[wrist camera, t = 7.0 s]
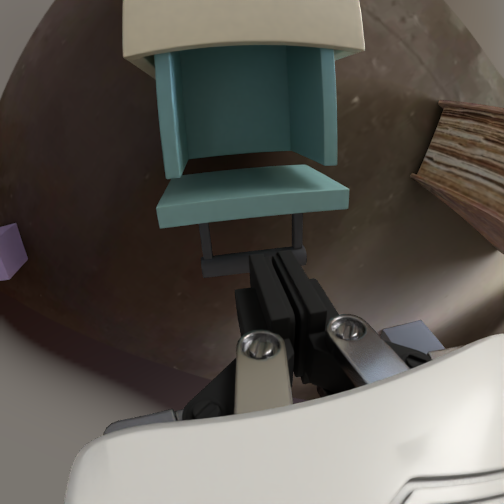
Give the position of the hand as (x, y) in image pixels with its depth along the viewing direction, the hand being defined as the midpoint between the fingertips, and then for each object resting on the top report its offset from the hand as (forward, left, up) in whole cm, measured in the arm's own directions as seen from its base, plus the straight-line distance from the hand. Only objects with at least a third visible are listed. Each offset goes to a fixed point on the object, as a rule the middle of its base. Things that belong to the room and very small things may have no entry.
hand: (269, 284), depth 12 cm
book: (+30, 0, -13) cm, 33 cm away
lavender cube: (-24, -1, -13) cm, 27 cm away
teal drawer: (0, +5, -12) cm, 13 cm away
